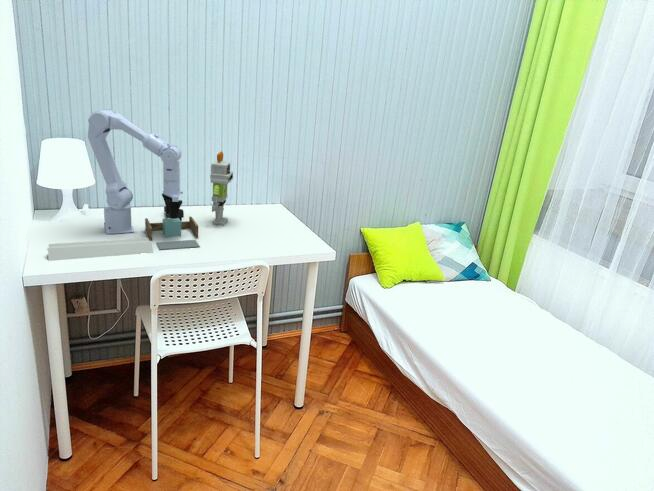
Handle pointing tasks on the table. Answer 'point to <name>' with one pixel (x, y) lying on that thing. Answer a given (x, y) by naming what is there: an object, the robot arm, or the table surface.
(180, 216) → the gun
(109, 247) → the crown molding
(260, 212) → the table surface
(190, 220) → the frame
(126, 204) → the robot arm
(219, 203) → the toy
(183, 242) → the mat
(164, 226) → the block
